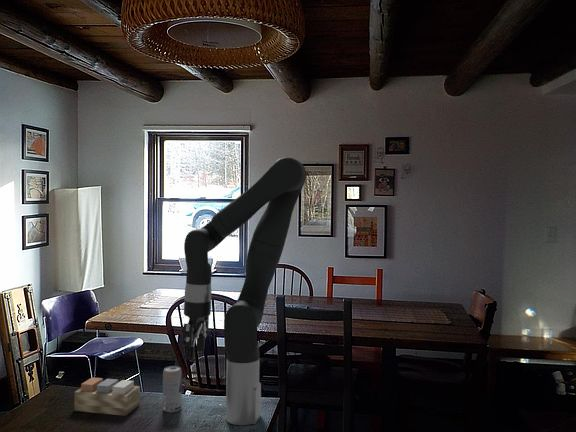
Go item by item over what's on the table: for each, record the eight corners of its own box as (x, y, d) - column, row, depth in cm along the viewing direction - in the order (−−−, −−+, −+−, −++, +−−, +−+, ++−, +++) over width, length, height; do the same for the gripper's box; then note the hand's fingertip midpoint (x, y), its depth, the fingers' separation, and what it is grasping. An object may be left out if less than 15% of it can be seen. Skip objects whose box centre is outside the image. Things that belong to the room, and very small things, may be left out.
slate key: (118, 389, 151) (118, 379, 151) (108, 396, 146) (108, 386, 146) (107, 388, 152) (107, 378, 152) (96, 395, 146) (96, 385, 146)
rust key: (102, 388, 152) (102, 378, 152) (92, 395, 147) (92, 384, 146) (92, 387, 153) (92, 377, 153) (81, 394, 147) (81, 383, 147)
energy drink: (182, 405, 151) (183, 365, 151) (179, 412, 146) (179, 371, 145) (164, 405, 151) (165, 365, 151) (161, 412, 146) (161, 371, 145)
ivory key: (133, 390, 150) (133, 380, 150) (124, 397, 145) (124, 387, 145) (122, 389, 151) (122, 379, 151) (112, 396, 145) (112, 386, 145)
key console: (139, 404, 151) (139, 386, 151) (125, 415, 143) (126, 396, 143) (90, 399, 154) (90, 382, 154) (74, 410, 146) (74, 392, 146)
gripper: (201, 304, 136) (198, 364, 137) (218, 295, 150) (215, 349, 151) (175, 302, 137) (172, 361, 138) (194, 293, 151) (191, 346, 152)
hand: (195, 354), depth 144 cm, fingers open, 8 cm apart
